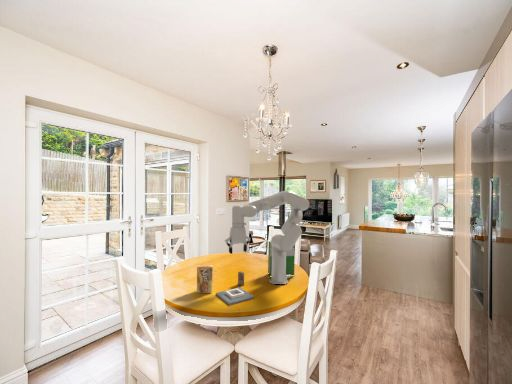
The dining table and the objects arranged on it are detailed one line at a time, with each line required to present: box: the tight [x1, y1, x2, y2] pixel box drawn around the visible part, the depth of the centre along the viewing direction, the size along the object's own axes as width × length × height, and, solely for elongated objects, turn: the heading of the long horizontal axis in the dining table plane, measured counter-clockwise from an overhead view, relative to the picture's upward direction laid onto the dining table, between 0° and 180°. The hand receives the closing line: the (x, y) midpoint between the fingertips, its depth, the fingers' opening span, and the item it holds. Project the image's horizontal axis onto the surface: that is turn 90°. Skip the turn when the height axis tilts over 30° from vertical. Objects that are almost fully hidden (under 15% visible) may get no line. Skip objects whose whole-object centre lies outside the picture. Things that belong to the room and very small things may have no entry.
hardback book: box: [267, 241, 296, 277], centre depth 173 cm, size 18×7×24 cm, turn 98°
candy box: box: [196, 264, 214, 294], centre depth 142 cm, size 9×4×15 cm, turn 93°
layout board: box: [215, 286, 255, 306], centre depth 136 cm, size 16×16×2 cm
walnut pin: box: [237, 271, 245, 287], centre depth 154 cm, size 4×4×8 cm
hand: (238, 252), depth 150 cm, fingers open, 9 cm apart
